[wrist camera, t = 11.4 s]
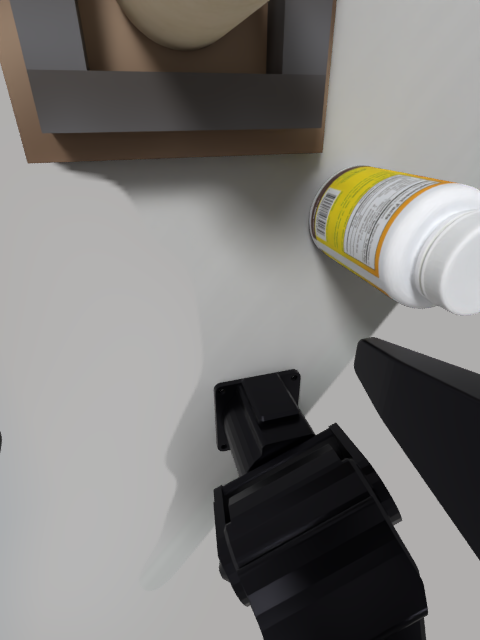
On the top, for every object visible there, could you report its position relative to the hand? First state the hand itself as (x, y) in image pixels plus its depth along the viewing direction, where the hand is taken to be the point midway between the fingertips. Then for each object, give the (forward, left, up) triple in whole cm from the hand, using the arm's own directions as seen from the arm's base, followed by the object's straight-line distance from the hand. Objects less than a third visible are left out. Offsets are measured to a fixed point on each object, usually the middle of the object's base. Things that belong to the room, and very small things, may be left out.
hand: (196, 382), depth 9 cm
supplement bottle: (0, -12, -13) cm, 18 cm away
